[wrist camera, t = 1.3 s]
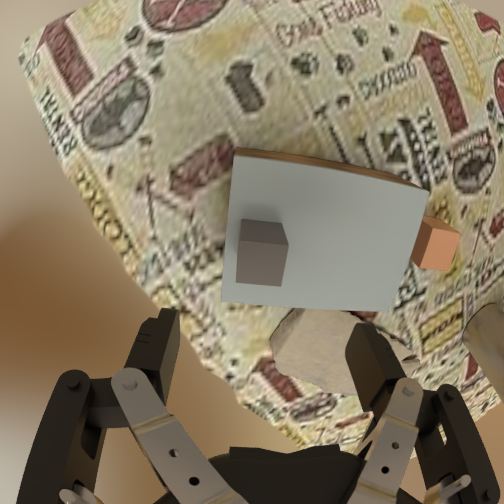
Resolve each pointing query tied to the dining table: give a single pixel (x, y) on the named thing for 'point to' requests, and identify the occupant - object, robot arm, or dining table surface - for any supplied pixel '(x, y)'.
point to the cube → (435, 244)
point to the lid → (317, 236)
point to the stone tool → (323, 348)
